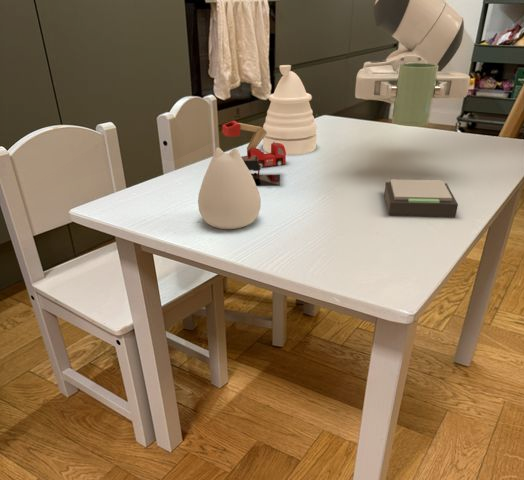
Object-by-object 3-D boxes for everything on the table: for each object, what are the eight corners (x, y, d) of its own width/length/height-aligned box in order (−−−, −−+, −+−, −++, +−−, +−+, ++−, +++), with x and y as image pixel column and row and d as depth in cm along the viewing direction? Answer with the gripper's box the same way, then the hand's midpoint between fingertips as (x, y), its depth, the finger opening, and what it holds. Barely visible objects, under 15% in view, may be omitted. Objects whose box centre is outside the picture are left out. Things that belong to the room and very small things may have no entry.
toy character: (265, 212, 88) (264, 140, 81) (255, 236, 80) (253, 158, 72) (208, 210, 89) (202, 139, 82) (192, 233, 81) (184, 156, 74)
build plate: (279, 176, 105) (280, 153, 102) (280, 188, 99) (280, 163, 96) (221, 176, 105) (219, 153, 102) (217, 188, 99) (216, 164, 96)
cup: (426, 118, 92) (435, 62, 87) (431, 126, 87) (441, 67, 82) (390, 118, 93) (397, 62, 88) (393, 125, 88) (401, 67, 82)
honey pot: (295, 159, 115) (296, 70, 104) (252, 150, 122) (249, 66, 111) (325, 147, 123) (330, 63, 112) (284, 139, 130) (284, 60, 119)
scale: (444, 196, 93) (447, 179, 91) (455, 218, 84) (459, 200, 82) (383, 195, 94) (385, 178, 92) (388, 217, 85) (390, 199, 83)
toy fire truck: (287, 165, 111) (288, 118, 105) (228, 173, 107) (226, 124, 101) (282, 161, 113) (282, 115, 108) (224, 169, 109) (221, 121, 104)
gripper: (458, 98, 98) (473, 112, 87) (353, 97, 100) (354, 111, 89) (465, 61, 94) (482, 71, 83) (356, 62, 97) (358, 71, 86)
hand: (415, 92), depth 86 cm, fingers closed on cup, 6 cm apart
